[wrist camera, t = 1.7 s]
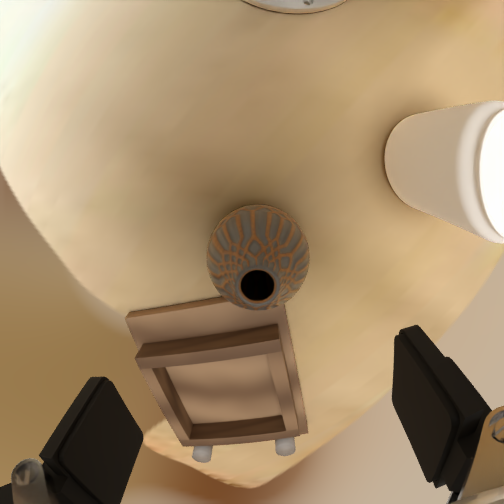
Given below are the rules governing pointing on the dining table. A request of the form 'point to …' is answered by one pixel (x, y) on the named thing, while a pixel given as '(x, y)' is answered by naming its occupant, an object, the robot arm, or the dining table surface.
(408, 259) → the dining table surface
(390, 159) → the beverage can
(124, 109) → the dining table surface
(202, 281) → the dining table surface
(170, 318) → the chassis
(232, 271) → the vase
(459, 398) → the robot arm
